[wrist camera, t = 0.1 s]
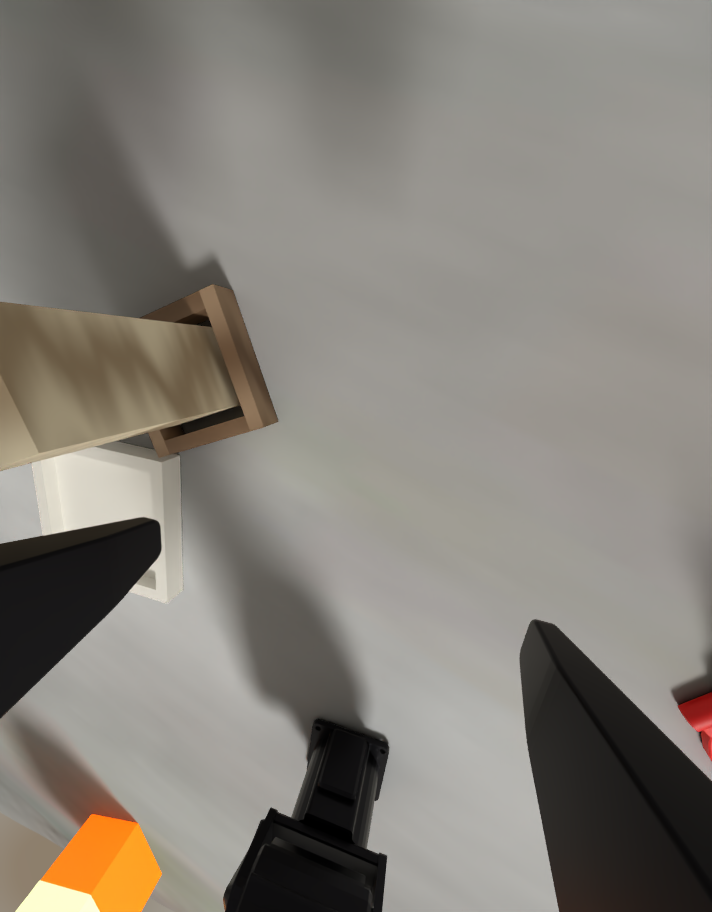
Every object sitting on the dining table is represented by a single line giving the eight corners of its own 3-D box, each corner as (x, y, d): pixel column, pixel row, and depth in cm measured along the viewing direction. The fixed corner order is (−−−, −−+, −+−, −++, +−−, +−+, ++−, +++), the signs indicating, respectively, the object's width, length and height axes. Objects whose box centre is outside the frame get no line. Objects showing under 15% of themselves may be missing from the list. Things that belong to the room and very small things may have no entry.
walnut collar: (278, 421, 24) (263, 427, 22) (179, 450, 26) (158, 458, 24) (232, 290, 22) (212, 284, 20) (131, 335, 24) (105, 333, 23)
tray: (183, 589, 30) (167, 603, 28) (68, 554, 32) (47, 565, 30) (180, 455, 26) (161, 462, 24) (51, 426, 28) (26, 431, 27)
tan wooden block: (247, 403, 24) (38, 453, 12) (189, 421, 25) (-50, 483, 13) (220, 328, 23) (-38, 297, 11) (161, 352, 24) (-124, 349, 12)
